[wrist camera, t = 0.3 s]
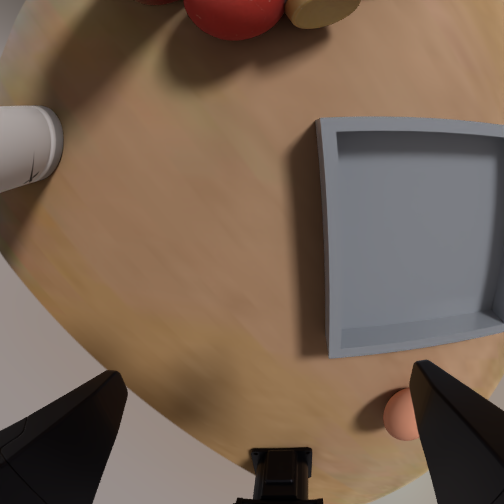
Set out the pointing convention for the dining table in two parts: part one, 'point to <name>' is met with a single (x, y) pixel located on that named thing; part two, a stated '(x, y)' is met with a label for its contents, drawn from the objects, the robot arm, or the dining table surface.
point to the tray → (411, 232)
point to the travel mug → (28, 144)
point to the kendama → (263, 15)
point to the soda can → (155, 2)
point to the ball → (401, 416)
